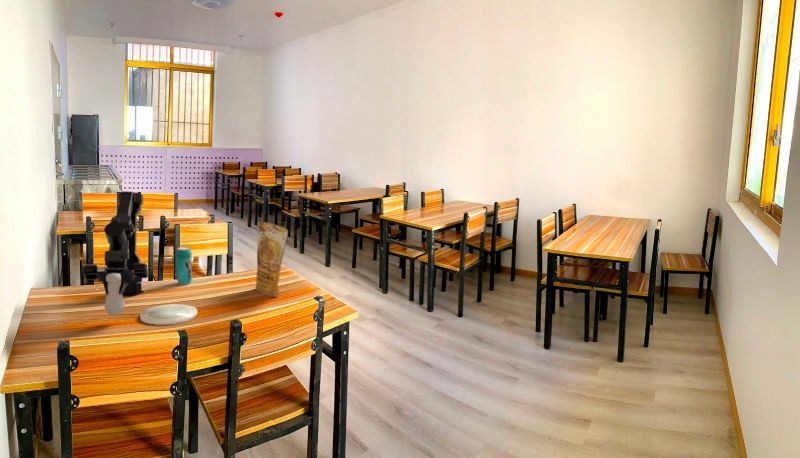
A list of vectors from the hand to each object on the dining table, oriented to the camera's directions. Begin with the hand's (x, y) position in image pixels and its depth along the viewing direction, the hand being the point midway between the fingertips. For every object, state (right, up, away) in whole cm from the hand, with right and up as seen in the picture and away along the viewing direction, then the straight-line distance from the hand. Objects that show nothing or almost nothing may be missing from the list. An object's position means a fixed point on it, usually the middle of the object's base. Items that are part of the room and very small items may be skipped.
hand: (113, 294), depth 169 cm
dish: (+13, -9, +12) cm, 20 cm away
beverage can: (+2, -2, +51) cm, 51 cm away
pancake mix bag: (+39, -5, +45) cm, 59 cm away
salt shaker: (-1, -6, +2) cm, 7 cm away
